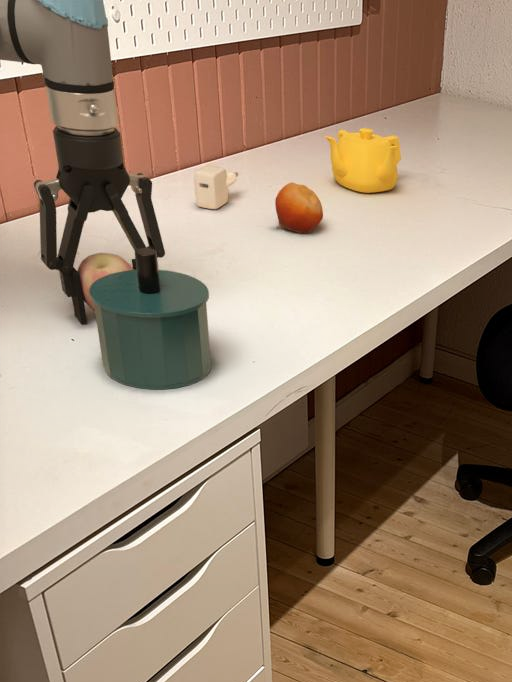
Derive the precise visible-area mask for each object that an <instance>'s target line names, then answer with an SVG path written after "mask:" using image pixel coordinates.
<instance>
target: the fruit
mask: <svg viewBox="0 0 512 682" xmlns="http://www.w3.org/2000/svg"><path fill="white" fill-rule="evenodd" d="M274 201H275V202H274V203H275V211H276V212H275V213H276V216H277V220H278V225H277V226H276V228H275V229H276V230H277V229H279V228H281V227H284V228H286V229H288V230H289V231H292V232H296V233H300V234H307V233H310V232H312V231H313V230H314V229H315V228H316V227H318V226H319V225H320V223H321V221H322V220H323V218H324V210H323V205H322V203H321V200H320V198H319V197H318V195H317V194H316V193H315V192H314V190H313V189H310V188H309V187H308V186H306V185H304V184H299V183H295V182H289V183H287V184H285V185H284V186H283V187H282V188H281V189H280V190H279V191H278V193H277V195H276V197H275V200H274Z"/></svg>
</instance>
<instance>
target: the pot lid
mask: <svg viewBox="0 0 512 682" xmlns="http://www.w3.org/2000/svg"><path fill="white" fill-rule="evenodd" d="M134 259H135V260H136V268H137V270H128V271H122V272H117V273H113V274H109V275H106V276H104V277H102V278H99V279H98V280H96V281H95V282H94V283H93V284H92V285H91V286H90V289H89V294H90V298H91V300H92V301H93V302H94V303H95V304H96V305H97V306H99V307H101V308H103V309H105V310H107V311H110V312H113V313H117V314H121V315H126V316H133V317H146V318H157V317H170V316H176V315H181V314H186V313H189V312H192V311H194V310H197V309H199V308H200V307H202V306H203V305H204V304H205V303H206V304H207V303H208V301H209V299H210V292H209V291H210V290H209V288H208V286H207V285H206V284H205V283H204V282H202V281H201V280H199V279H198V278H196V277H194V276H192V275H188V274H186V273H181V272H177V271H172V270H165V269H159V262H158V258H157V253H156V251H155V250H153V249H150V248H140V249H137V250H135V251H134Z"/></svg>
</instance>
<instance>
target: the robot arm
mask: <svg viewBox="0 0 512 682" xmlns="http://www.w3.org/2000/svg"><path fill="white" fill-rule="evenodd" d="M108 27H109V20H108V18H107V14H106V8H105V2H104V0H0V61H8V62H17V63H23V64H24V63H25V64H30V65H40V66H41V70H42V75H43V79H44V84H45V91H46V97H47V98H46V99H47V104H48V111H49V117H50V122H51V123H53V124H54V125H55V127H54V128H53V130H52V136H53V141H54V147H55V148H54V149H55V152H56V159H57V165H58V166H57V167H58V170H57V173H56V176H55V178H52V179H49V180H45V181H43V180H41V179H36V180H35V181H34V182H33V188H34V190H35V192H36V195H37V198H38V200H39V231H40V232H39V236H40V237H39V240H40V260H41V262H42V263H43V264H44V265H45V266H46V268H47V269H49V270H51V271H54V270H55V271H58V273H59V278H60V285H61V290H62V291H63V293H64V295H65V296H66V297H67V298H71V300H72V307H73V313H74V317H75V318H76V319H77V321H78V322H79V323H80V324H81V325H82V324H88V318H87V317H88V316H87V312H86V303H85V301H84V298H83V292H82V286H81V280H80V273H79V272H78V269H76V267H74V266H75V261H76V257H77V254H78V249H79V245H80V241H81V237H82V234H83V233H82V232H83V230H84V225H85V222H86V221H87V220H88V215H89V214H90V213H95V212H99V211H104V212H112V213H113V215H114V217H115V218H116V220H117V222H118V223H119V226H120V228H121V229H122V231H123V233H124V235H125V236H126V238H127V240H128V242H129V244H130V246H131V247H132V249H133V251H134V252H135V250H137V249H140V248H150V249H153V250H155V251H156V253H157V259H159V258H160V259H161V258H164V257H165V255H166V251H165V247H164V243H163V242H164V241H163V238H162V235H161V231H160V227H159V222H158V220H157V215H156V211H155V207H154V204H153V199H152V195H153V194H152V193H153V192H152V191H153V181H152V180H151V179H150V178H149V177H148V176H147V175H145V174H144V173H142V172H138V173H137V174H132V173H128V171H127V170H126V166H125V159H124V152H123V144H122V137H121V132H120V131H119V130H118V128H116V127H117V126H118V125H119V124H120V122H119V121H120V120H119V113H118V106H117V97H116V88H115V82H114V75H113V65H112V55H111V48H110V47H111V46H110V37H109V29H108ZM129 185H130V190H131V191H132V192H134V195H135V199H136V203H137V207H138V211H139V214H140V219H141V222H142V226H143V230H144V233H145V237H146V240H147V245H148V246H146V243H145V242H144V240H143V238H142V237H141V235H140V233H139V231H138V228H137V227H136V225H135V224H134V221H133V220H132V218H131V216H130V214H129V211H128V209H127V207H126V205H125V203H124V202H123V200H122V198H123V197H124V194H125V192H126V191H127V189H128V187H129ZM61 190H62V191H63V193H65V194H66V195H67V197H68V198H69V199H68V205H67V216H66V219H65V223H64V228H63V232H62V237H61V240H60V245H59V248H58V247H57V246H58V244H57V243H58V241H57V240H58V239H57V236H58V235H57V232H58V231H57V206H56V201H57V200H58V199H59V192H60V191H61ZM131 263H132V264H131V266H132V267H133V269H134V270H137V268H136V260H135V258H131Z"/></svg>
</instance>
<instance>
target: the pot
mask: <svg viewBox="0 0 512 682" xmlns="http://www.w3.org/2000/svg"><path fill="white" fill-rule="evenodd" d="M94 308H95V312H94V314H95V321H96V327H97V333H98V340H99V347H100V354H101V360H102V361H101V362H102V366H103V368H104V371H105V373H106V374H107V376H108V377H109V378H111V379H112V380H113V381H115V382H116V383H119V384H122V385H125V386H128V387H132V388H137V389H144V390H172V389H179V388H183V387H187V386H191V385H193V384H196V383H198V382H200V381H202V380H203V379H205V378H206V377H207V375H209V373H210V371H211V369H212V361H211V360H212V359H211V347H210V334H209V319H208V308H207V302H206V303H205V304H204V305H203V306H202V307H200V308H199V309H197V310H194V311H192V312H189V313H186V314H181V315H176V316H170V317H157V318H146V317H133V316H126V315H121V314H117V313H113V312H110V311H107V310H105V309H103V308H101V307H99V306H97V305H96V304H95V303H94Z"/></svg>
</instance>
